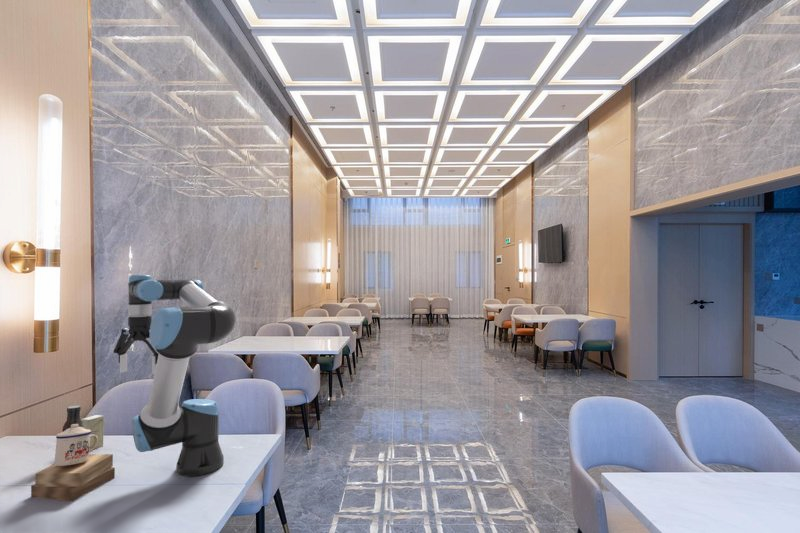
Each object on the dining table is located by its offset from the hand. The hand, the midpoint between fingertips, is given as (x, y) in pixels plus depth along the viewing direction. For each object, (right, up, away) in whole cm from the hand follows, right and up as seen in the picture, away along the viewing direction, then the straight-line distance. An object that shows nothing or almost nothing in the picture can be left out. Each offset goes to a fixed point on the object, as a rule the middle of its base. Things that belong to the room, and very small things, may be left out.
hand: (139, 372), depth 158 cm
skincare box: (-24, -32, +9) cm, 41 cm away
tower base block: (-7, -32, -23) cm, 40 cm away
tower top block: (-6, -28, -23) cm, 36 cm away
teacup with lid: (-6, -23, -22) cm, 33 cm away
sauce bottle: (-23, -32, -4) cm, 39 cm away
